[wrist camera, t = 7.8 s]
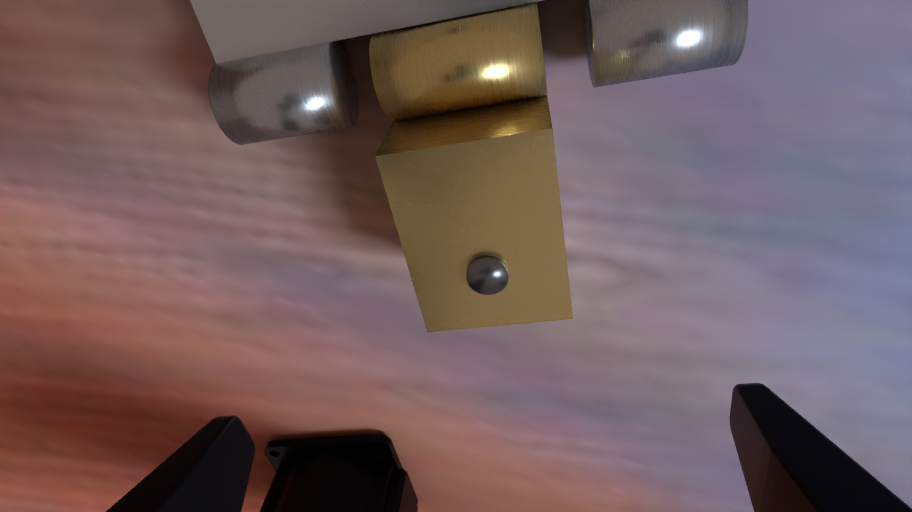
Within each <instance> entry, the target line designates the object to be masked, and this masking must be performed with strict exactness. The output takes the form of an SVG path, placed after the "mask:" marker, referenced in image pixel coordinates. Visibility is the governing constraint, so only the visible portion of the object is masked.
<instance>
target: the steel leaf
mask: <svg viewBox="0 0 912 512" xmlns="http://www.w3.org/2000/svg"><path fill="white" fill-rule="evenodd" d="M539 1H544V0H190V2H191V4H192V7H193V9H194V12H195V14H196V16H197V19H198V21H199V23H200V26H201V28H202V31H203V33H204V35H205V38H206V40H207V42H208V45H209V47H210V50H211V52H212V54H213V57H214V59H215V62H216V65H215V66H214V67H213V68H212V70H211V71H210V75H209V79H208V93H209V100H210V104H211V108H212V111H213V114H214V116H215V119H216V121H217V123H218V124H219V126H220V128H221V129H222V131H223V132H224V133H225V135H226V136H227V137H228V138H229V139H230V140H232V141H233V142H235V143H237V144H240V145H244V144H250V143H256V142H262V141H269V140H275V139H281V138H287V137H293V136H299V135H305V134H312V133H318V132H324V131H330V130H336V129H342V128H348V127H353V126H354V125H355V123H356V121H357V117H358V95H357V88H356V83H355V79H354V75H353V72H352V68H351V66H350V63H349V61H348V58H347V56H346V54H345V52H344V51H343V49H342V48H341V46H340V45H339V44H338V43H337V42H335V41H337V40H343V39H348V38H353V37H358V36H363V35H368V34H374V33H379V32H384V31H389V30H394V29H399V28H405V27H410V26H415V25H420V24H425V23H430V22H435V21H441V20H446V19H451V18H456V17H461V16H466V15H472V14H477V13H482V12H487V11H492V10H497V9H502V8H508V7H513V6H518V5H523V4H528V3H533V2H539ZM747 26H748V0H585V35H586V47H587V57H588V65H589V72H590V77H591V82H592V85H593V87H601V86H607V85H613V84H619V83H625V82H631V81H637V80H644V79H650V78H656V77H662V76H668V75H674V74H680V73H687V72H693V71H699V70H705V69H711V68H717V67H723V66H730V65H734V64H735V63H736V62H737V61H738V60H739V58H740V56H741V54H742V51H743V48H744V44H745V40H746V34H747Z"/></svg>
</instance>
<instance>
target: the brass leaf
mask: <svg viewBox="0 0 912 512" xmlns="http://www.w3.org/2000/svg"><path fill="white" fill-rule="evenodd" d="M369 58H370V68H371V74H372V79H373V84H374V88H375V92H376V95H377V98H378V101H379V104H380V106H381V109H382V111H383V113H384V114H385V116H386V117H387V119H388V120H390V121H394V122H393V123H392V125H391V127H390V129H389V131H388V133H387V135H386V137H385V138H384V140H383V142H382V144H381V146H380V148H379V150H378V152H377V154H376V155H375V158H376V162H377V165H378V168H379V172H380V175H381V178H382V182H383V185H384V188H385V192H386V195H387V198H388V202H389V205H390V208H391V212H392V215H393V218H394V222H395V225H396V228H397V232H398V235H399V238H400V242H401V245H402V248H403V252H404V255H405V258H406V262H407V265H408V268H409V272H410V275H411V278H412V282H413V285H414V289H415V292H416V295H417V299H418V302H419V305H420V309H421V312H422V315H423V319H424V322H425V325H426V329H427V332H435V331H446V330H457V329H468V328H478V327H489V326H500V325H511V324H522V323H532V322H543V321H554V320H565V319H573V316H572V307H571V297H570V288H569V279H568V270H567V260H566V251H565V242H564V232H563V223H562V214H561V204H560V195H559V186H558V176H557V167H556V158H555V148H554V139H553V130H552V123H551V117H550V111H549V105H548V99H547V87H546V76H545V67H544V58H543V49H542V40H541V31H540V23H539V15H538V7H537V2H533V3H528V4H523V5H518V6H513V7H508V8H503V9H498V10H493V11H488V12H483V13H478V14H473V15H468V16H463V17H458V18H453V19H448V20H443V21H438V22H433V23H428V24H423V25H418V26H413V27H408V28H403V29H398V30H393V31H388V32H383V33H378V34H374V35H372V37H371V39H370V46H369Z"/></svg>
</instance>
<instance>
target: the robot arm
mask: <svg viewBox="0 0 912 512" xmlns="http://www.w3.org/2000/svg"><path fill="white" fill-rule="evenodd" d="M730 427H731V431H732V435H733V439H734V442H735V446H736V449H737V453H738V456H739V460H740V463H741V467H742V470H743V474H744V477H745V481H746V484H747V488H748V491H749V495H750V498H751V502H752V505H753V509H754V512H912V509H911V508H910V507H909V506H908V505H907V504H905V503H904V502H903V501H902V500H901V499H900V498H898V497H897V496H896V495H895V494H894V493H892V492H891V491H890V490H889V489H888V488H886V487H885V486H884V485H883V484H882V483H880V482H879V481H878V480H877V479H876V478H875V477H873V476H872V475H871V474H870V473H869V472H867V471H866V470H865V469H864V468H863V467H861V466H860V465H859V464H858V463H857V462H855V461H854V460H853V459H852V458H851V457H850V456H848V455H847V454H846V453H845V452H844V451H842V450H841V449H840V448H839V447H838V446H836V445H835V444H834V443H833V442H832V441H830V440H829V439H828V438H827V437H826V436H825V435H823V434H822V433H821V432H820V431H819V430H817V429H816V428H815V427H814V426H813V425H811V424H810V423H809V422H808V421H807V420H806V419H804V418H803V417H802V416H801V415H800V414H798V413H797V412H796V411H795V410H794V409H792V408H791V407H790V406H789V405H788V404H786V403H785V402H784V401H783V400H782V399H781V398H779V397H778V396H777V395H776V394H775V393H773V392H772V391H771V390H770V389H769V388H767V387H766V386H765V385H763V384H760V383H749V384H738V385H736V386H735V387H734V389H733V393H732V402H731V410H730ZM265 454H266V456H267V458H268V459H269V461H270V463H271V464H272V466H273V468H274V469H275V471H276V473H275V476H274V478H273V481H272V483H271V485H270V488H269V490H268V493H267V495H266V497H265V500H264V502H263V505H262V507H261V510H260V512H417V511H418V507H417V503H418V499H417V497H416V494H415V491H414V489H413V486H412V484H411V481H410V479H409V476H408V474H407V472H406V471H405V470H404V469H403V468H402V466H401V464H400V461H399V458H398V456H397V453H396V451H395V448H394V446H393V443H392V441H391V439H390V438H388V437H387V436H384V435H367V436H348V437H330V438H311V439H293V440H274V441H270V442H269V443H268V445H267V447H266V449H265ZM254 455H255V445H254V441H253V439H252V438H251V436H250V435H249V433H248V431H247V430H246V428H245V426H244V425H243V423H242V421H241V420H240V419H239V418H238V417H237V416H219V417H216V418H214V419H212V420H211V421H210V422H209V423H208V424H206V425H205V426H204V427H203V428H202V429H201V430H199V431H198V432H197V433H196V434H195V435H194V436H193V437H191V438H190V439H189V440H188V441H187V442H186V443H184V444H183V445H182V446H181V447H180V448H179V449H178V450H176V451H175V452H174V453H173V454H172V455H171V456H169V457H168V458H167V459H166V460H165V461H164V462H163V463H161V464H160V465H159V466H158V467H157V468H156V469H154V470H153V471H152V472H151V473H150V474H149V475H148V476H146V477H145V478H144V479H143V480H142V481H141V482H139V483H138V484H137V485H136V486H135V487H134V488H133V489H131V490H130V491H129V492H128V493H127V494H126V495H124V496H123V497H122V498H121V499H120V500H119V501H118V502H116V503H115V504H114V505H113V506H112V507H111V508H109V509H108V510H107V511H106V512H241V510H242V506H243V502H244V497H245V493H246V489H247V485H248V480H249V476H250V472H251V468H252V463H253V459H254Z"/></svg>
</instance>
